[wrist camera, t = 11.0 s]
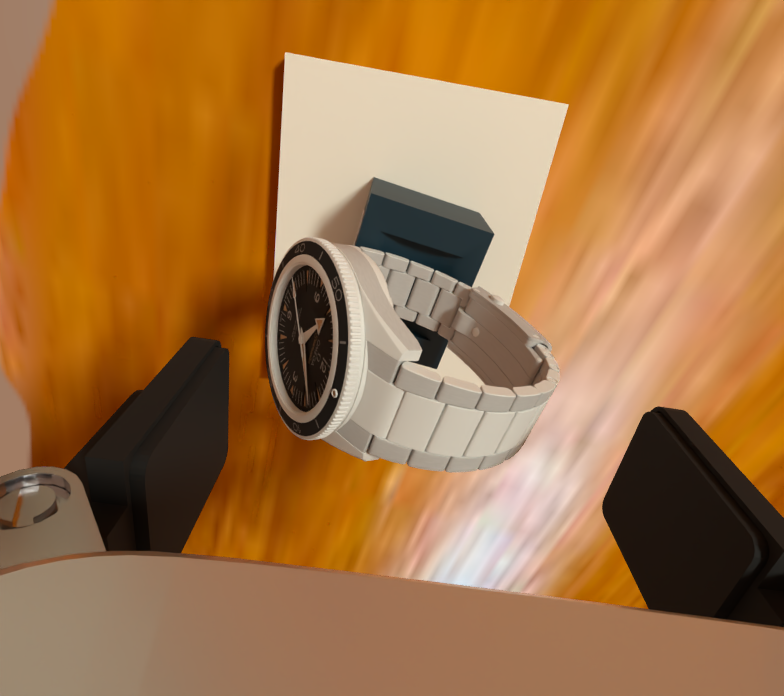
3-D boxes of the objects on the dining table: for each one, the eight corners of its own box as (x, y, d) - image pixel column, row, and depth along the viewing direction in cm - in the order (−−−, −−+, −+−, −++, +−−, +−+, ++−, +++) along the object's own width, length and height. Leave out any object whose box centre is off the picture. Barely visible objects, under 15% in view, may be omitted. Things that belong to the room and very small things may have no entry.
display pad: (477, 395, 24) (480, 404, 24) (272, 368, 23) (268, 376, 23) (561, 103, 18) (568, 104, 18) (289, 53, 17) (285, 52, 17)
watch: (323, 159, 18) (248, 244, 9) (520, 226, 20) (650, 367, 10) (290, 293, 21) (203, 477, 11) (467, 345, 22) (528, 551, 12)
